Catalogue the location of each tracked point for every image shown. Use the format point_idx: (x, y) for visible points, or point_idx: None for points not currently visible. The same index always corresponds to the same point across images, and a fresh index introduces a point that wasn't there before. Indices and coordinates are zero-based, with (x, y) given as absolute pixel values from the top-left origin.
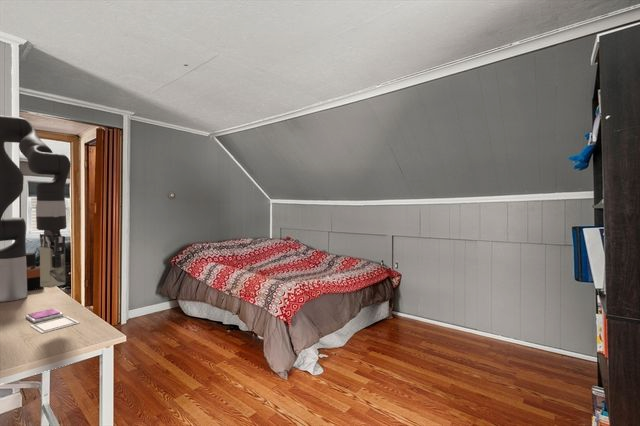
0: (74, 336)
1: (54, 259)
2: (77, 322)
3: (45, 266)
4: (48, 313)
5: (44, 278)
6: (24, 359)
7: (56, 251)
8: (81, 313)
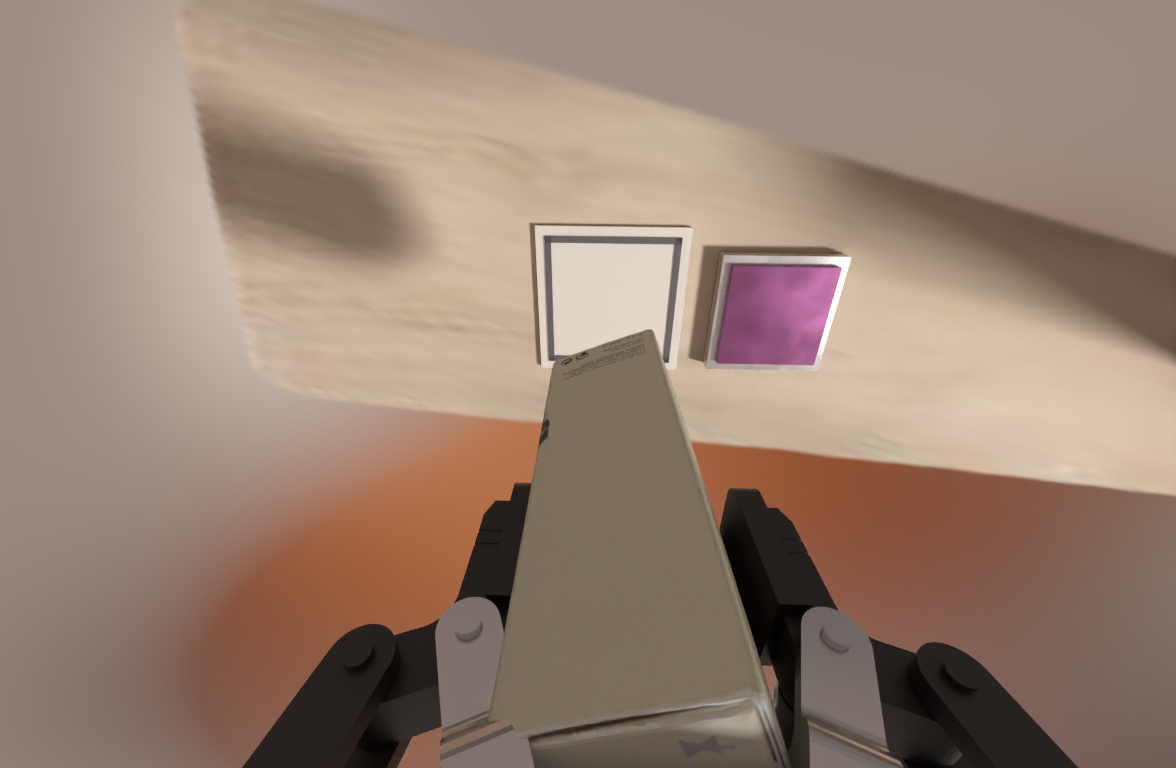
0: (389, 294)
1: (491, 569)
2: (544, 361)
3: (595, 453)
4: (752, 328)
5: (607, 375)
6: (241, 60)
7: (303, 703)
8: None
